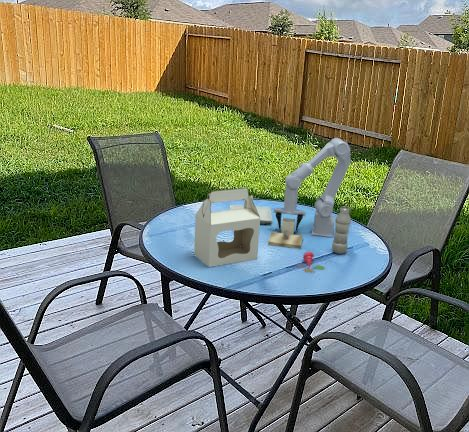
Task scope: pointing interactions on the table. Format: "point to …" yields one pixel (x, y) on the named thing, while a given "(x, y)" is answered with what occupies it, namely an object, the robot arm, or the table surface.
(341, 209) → the plastic bottle
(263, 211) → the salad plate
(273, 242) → the plate
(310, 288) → the table surface
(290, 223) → the pale matte cube
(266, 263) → the table surface
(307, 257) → the toy pieces
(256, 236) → the gable box
